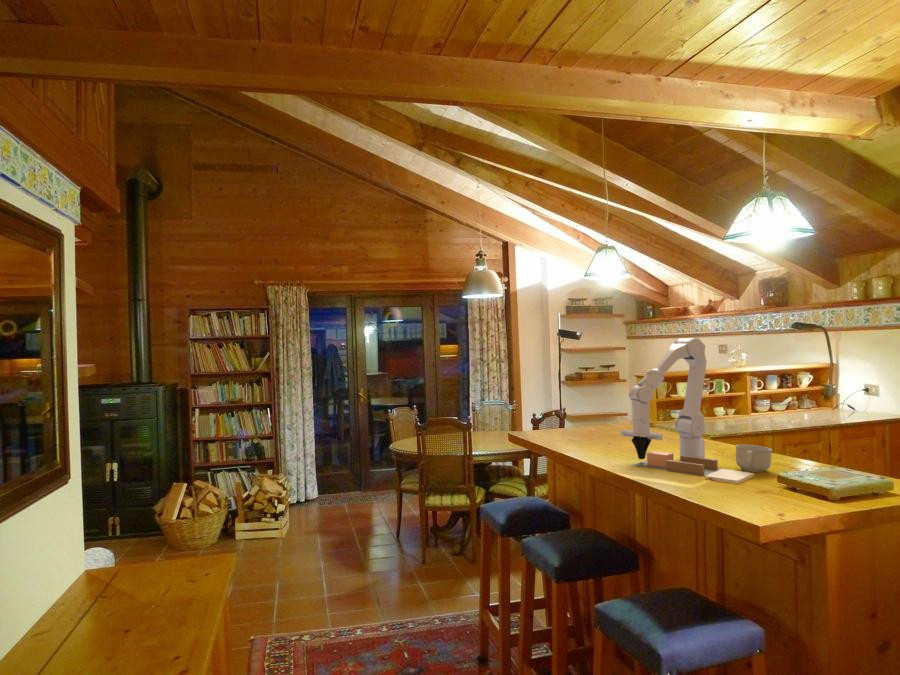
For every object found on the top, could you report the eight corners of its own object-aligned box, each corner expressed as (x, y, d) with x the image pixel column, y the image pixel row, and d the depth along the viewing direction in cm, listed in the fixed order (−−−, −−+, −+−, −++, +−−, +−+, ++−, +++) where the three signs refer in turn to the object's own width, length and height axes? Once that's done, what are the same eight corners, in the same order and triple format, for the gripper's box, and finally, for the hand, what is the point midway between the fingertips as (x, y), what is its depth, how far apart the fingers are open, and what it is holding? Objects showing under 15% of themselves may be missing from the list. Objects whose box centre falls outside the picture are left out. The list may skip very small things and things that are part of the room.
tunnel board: (650, 462, 221) (650, 450, 221) (754, 476, 196) (753, 463, 196) (631, 468, 211) (631, 456, 211) (737, 484, 186) (737, 470, 186)
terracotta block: (654, 462, 215) (654, 450, 215) (673, 465, 210) (673, 453, 210) (647, 464, 211) (647, 452, 211) (666, 467, 206) (666, 455, 206)
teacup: (743, 466, 212) (742, 442, 212) (777, 470, 204) (776, 446, 204) (726, 472, 202) (726, 448, 202) (762, 477, 194) (761, 452, 194)
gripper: (616, 419, 218) (617, 457, 218) (655, 422, 208) (655, 463, 208) (626, 417, 223) (627, 454, 223) (664, 420, 213) (665, 460, 213)
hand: (641, 458), depth 216 cm, fingers closed
